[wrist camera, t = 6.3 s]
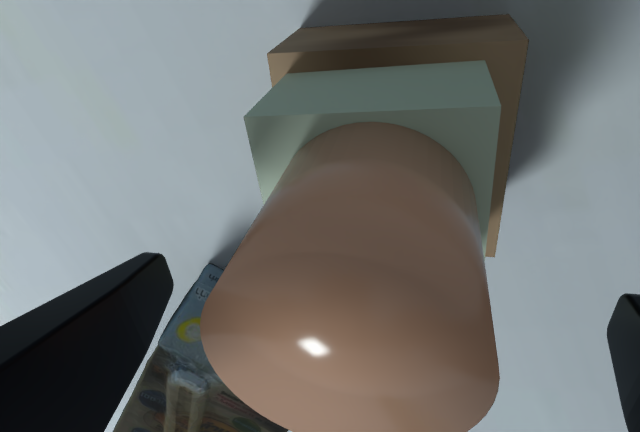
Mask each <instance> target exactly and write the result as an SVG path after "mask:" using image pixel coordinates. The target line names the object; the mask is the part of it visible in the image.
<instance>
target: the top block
mask: <svg viewBox="0 0 640 432" xmlns="http://www.w3.org/2000/svg"><path fill="white" fill-rule="evenodd" d="M500 114H501V104H500V101H499V98H498V95H497V92H496V90H495V87H494V84H493V81H492V78H491V76H490V73H489V70H488V67H487V64H486V62H485V60H479V61H464V62H449V63H434V64H420V65H405V66H390V67H375V68H361V69H346V70H331V71H317V72H302V73H287V74H286V75H285V76H284V77H283V78H282V79H281V80H280V81H279V82H278V83H277V84H276V85H275V86H274V87H273V88H272V89H271V90H270V91H269V92H268V93H267V94H266V95H265V96H264V97H263V98H262V99H261V100H260V101H259V102H258V103H257V104H256V105H255V106H254V107H253V108H252V109H251V110H250V111H249V112H248V113H247V114H246V115H245V116H244V121H245V125H246V130H247V134H248V138H249V143H250V147H251V152H252V156H253V160H254V165H255V169H256V173H257V178H258V182H259V187H260V191H261V195H262V200H263V204H265V202H266V201H267V199H268V197H269V196H270V194H271V192H272V191H273V189H274V187H275V186H276V184H277V183H278V181H279V179H280V178H281V176H282V174H283V173H284V171H285V169H286V168H287V166H288V164H289V163H290V161H291V159H292V158H293V157H294V156H295V154H296V153H297V152H298V151H299V150H300V149H301V148H302V147H303V146H304V145H305V144H306V143H307V142H309V141H310V140H312V139H313V138H315V137H316V136H318V135H319V134H322V133H324V132H326V131H328V130H330V129H333V128H336V127H339V126H342V125H346V124H352V123H357V122H383V123H390V124H395V125H401V126H404V127H407V128H410V129H413V130H416V131H418V132H420V133H422V134H424V135H426V136H428V137H430V138H431V139H433V140H435V141H436V142H438V143H439V144H441V145H442V146H443V147H444V148H445V149H447V150H448V151H449V152H450V153H451V154H452V155H453V156H454V157H455V158H456V159H457V161H458V162H459V163H460V164H461V166H462V167H463V169H464V170H465V172H466V173H467V175H468V177H469V179H470V182H471V184H472V186H473V190H474V193H475V197H476V204H477V211H478V218H479V226H480V233H481V240H482V248H483V255H484V262H485V253H486V244H487V234H488V225H489V216H490V207H491V197H492V188H493V179H494V169H495V160H496V151H497V142H498V132H499V123H500Z"/></svg>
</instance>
